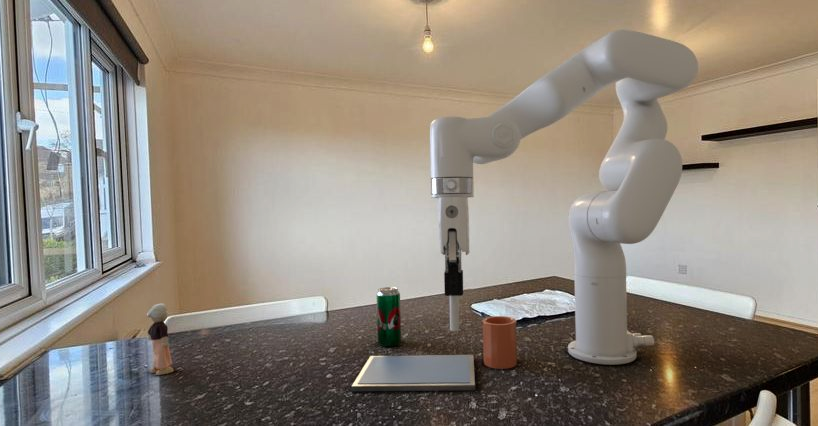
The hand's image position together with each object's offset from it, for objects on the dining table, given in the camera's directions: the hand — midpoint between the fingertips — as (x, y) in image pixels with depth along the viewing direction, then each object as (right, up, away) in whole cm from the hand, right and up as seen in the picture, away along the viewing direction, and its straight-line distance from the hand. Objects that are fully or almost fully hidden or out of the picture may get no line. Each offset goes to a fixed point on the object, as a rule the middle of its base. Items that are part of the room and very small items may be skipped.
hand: (454, 293), depth 75 cm
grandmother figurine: (-55, -16, +5) cm, 58 cm away
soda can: (-14, -15, +18) cm, 27 cm away
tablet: (-6, -14, +1) cm, 16 cm away
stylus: (0, -7, 0) cm, 7 cm away
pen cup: (+9, -14, +5) cm, 17 cm away
